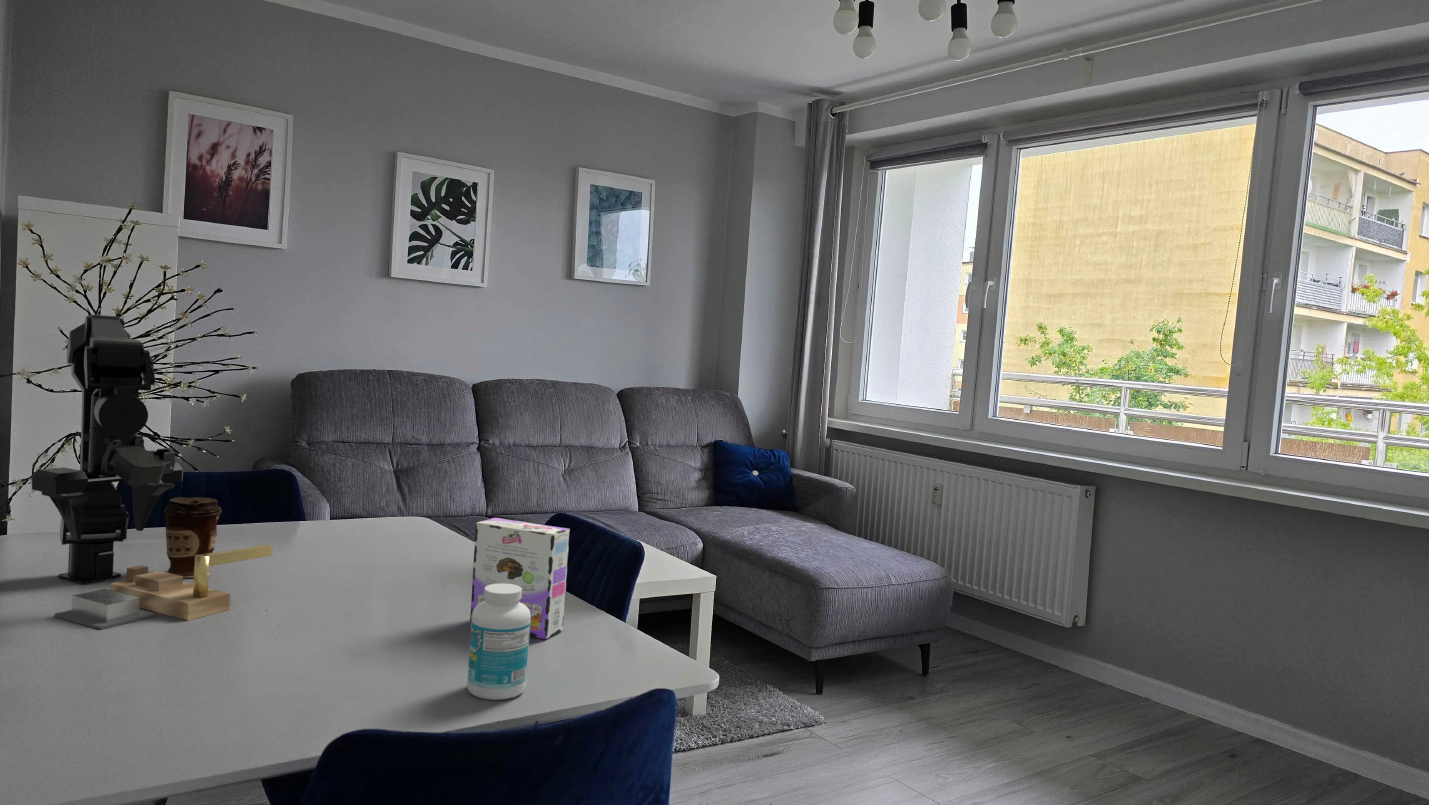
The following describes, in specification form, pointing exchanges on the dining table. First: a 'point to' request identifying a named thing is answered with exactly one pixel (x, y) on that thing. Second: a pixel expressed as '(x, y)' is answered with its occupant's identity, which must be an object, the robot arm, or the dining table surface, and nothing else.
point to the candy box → (524, 568)
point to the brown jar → (190, 531)
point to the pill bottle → (499, 644)
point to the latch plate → (170, 594)
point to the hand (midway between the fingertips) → (109, 535)
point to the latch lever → (222, 558)
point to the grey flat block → (105, 605)
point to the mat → (99, 624)
